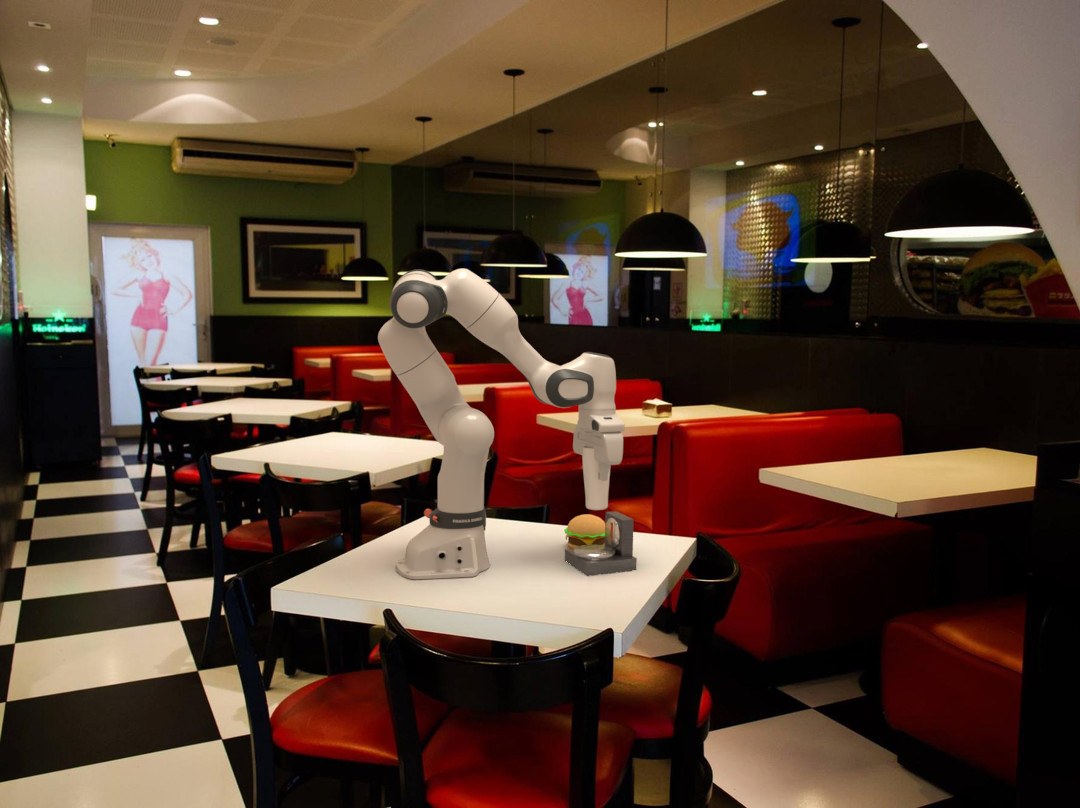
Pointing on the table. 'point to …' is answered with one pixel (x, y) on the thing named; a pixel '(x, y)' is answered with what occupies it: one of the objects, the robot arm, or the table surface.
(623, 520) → the dial scale
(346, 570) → the table surface
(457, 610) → the table surface
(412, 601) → the table surface
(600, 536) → the hamburger
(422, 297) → the robot arm
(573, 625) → the table surface
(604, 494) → the drinking glass
